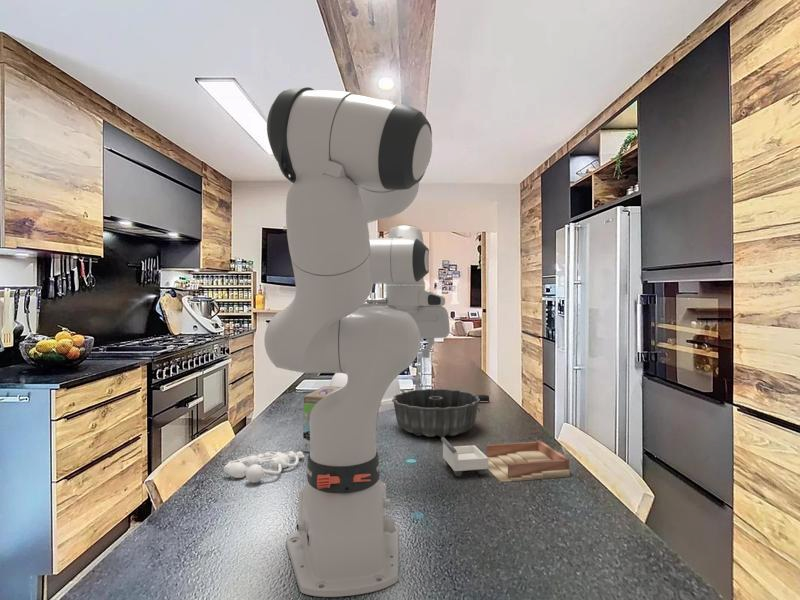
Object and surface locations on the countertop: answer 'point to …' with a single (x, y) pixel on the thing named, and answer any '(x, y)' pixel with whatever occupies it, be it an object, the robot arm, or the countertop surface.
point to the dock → (526, 461)
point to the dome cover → (386, 401)
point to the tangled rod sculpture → (256, 471)
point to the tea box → (308, 406)
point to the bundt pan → (436, 411)
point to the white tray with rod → (464, 458)
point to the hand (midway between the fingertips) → (405, 358)
